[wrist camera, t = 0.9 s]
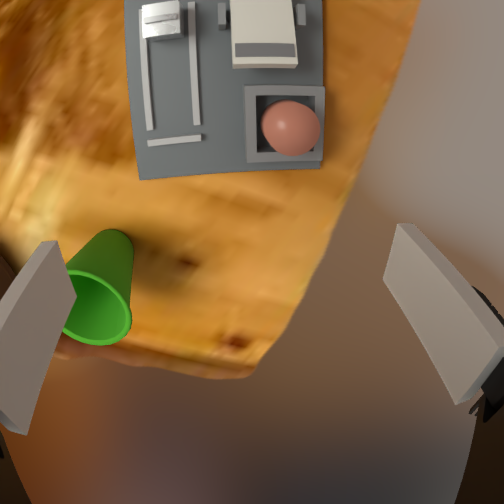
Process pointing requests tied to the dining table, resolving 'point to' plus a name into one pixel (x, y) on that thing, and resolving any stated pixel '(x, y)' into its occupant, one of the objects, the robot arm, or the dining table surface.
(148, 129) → the panel
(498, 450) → the robot arm
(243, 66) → the paddle
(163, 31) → the slider knob
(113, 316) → the cup
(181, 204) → the dining table surface
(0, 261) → the alarm clock
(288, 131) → the round button
